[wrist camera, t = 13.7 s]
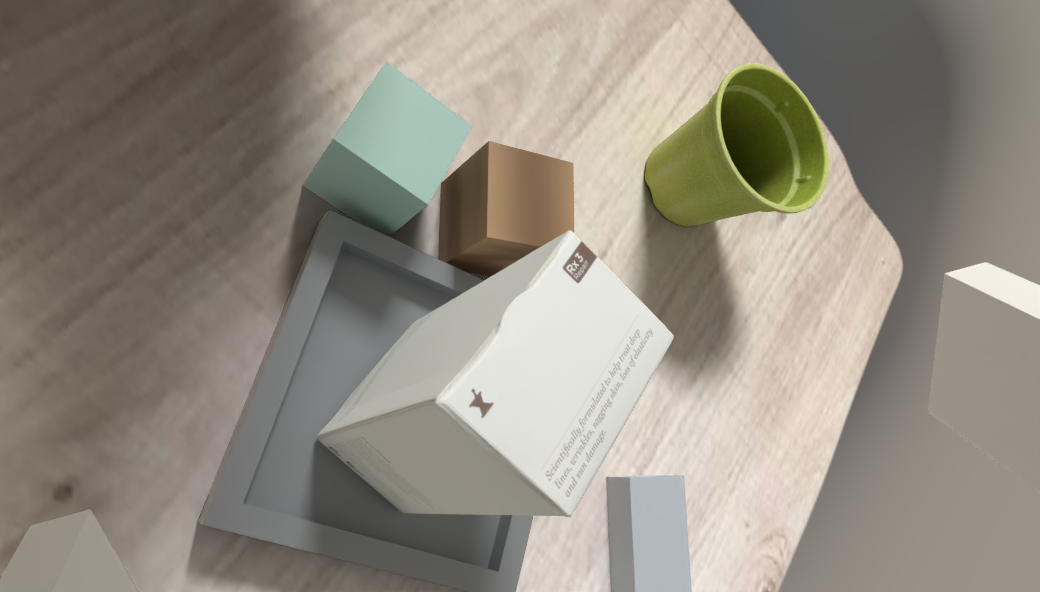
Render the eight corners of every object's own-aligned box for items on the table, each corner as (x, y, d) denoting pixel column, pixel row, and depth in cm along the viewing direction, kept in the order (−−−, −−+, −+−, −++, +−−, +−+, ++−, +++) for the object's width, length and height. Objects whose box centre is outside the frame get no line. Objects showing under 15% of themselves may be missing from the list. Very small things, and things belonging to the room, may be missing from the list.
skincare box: (400, 514, 34) (571, 542, 21) (306, 433, 32) (427, 410, 20) (497, 384, 38) (689, 341, 25) (417, 306, 36) (577, 220, 24)
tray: (197, 521, 30) (202, 524, 28) (318, 221, 35) (328, 209, 34) (494, 596, 36) (513, 603, 34) (559, 329, 41) (578, 323, 40)
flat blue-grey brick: (603, 476, 41) (629, 477, 39) (655, 475, 43) (683, 475, 41) (608, 623, 39) (637, 632, 37) (663, 615, 41) (693, 623, 39)
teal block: (302, 186, 35) (333, 138, 30) (349, 116, 38) (386, 61, 33) (385, 240, 37) (428, 204, 32) (426, 170, 39) (472, 126, 34)
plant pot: (712, 274, 49) (818, 240, 41) (608, 207, 45) (703, 157, 38) (736, 167, 52) (837, 118, 45) (642, 98, 49) (735, 33, 42)
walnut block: (437, 267, 38) (486, 236, 33) (441, 183, 40) (488, 141, 34) (517, 280, 41) (574, 253, 36) (518, 200, 42) (573, 162, 37)
